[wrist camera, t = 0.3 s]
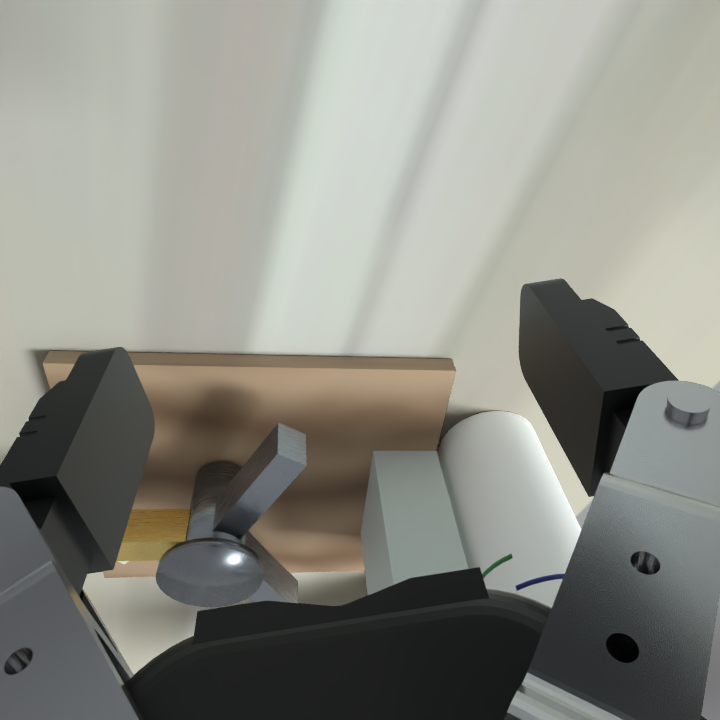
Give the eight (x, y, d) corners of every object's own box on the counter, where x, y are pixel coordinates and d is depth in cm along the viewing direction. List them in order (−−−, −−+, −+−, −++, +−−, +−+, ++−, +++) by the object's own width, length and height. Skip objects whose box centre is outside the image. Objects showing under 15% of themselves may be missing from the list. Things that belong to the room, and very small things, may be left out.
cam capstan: (55, 383, 33) (4, 483, 27) (305, 387, 35) (307, 481, 29) (103, 556, 43) (73, 656, 37) (297, 551, 45) (297, 646, 39)
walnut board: (49, 350, 34) (42, 363, 33) (451, 359, 37) (456, 370, 36) (108, 564, 46) (104, 577, 45) (405, 556, 49) (407, 569, 48)
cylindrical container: (545, 459, 44) (757, 913, 24) (456, 492, 45) (586, 947, 25) (521, 396, 39) (754, 882, 20) (423, 434, 41) (549, 925, 21)
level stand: (373, 450, 39) (393, 584, 32) (436, 450, 40) (472, 582, 32) (359, 541, 45) (373, 673, 38) (414, 540, 46) (439, 670, 38)
